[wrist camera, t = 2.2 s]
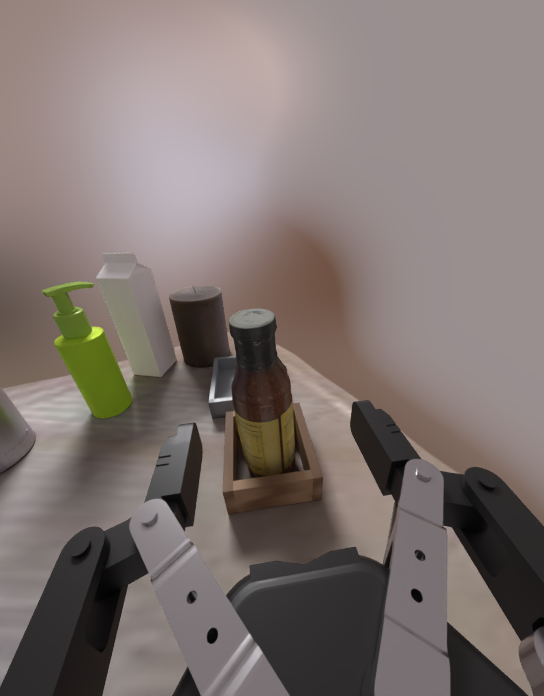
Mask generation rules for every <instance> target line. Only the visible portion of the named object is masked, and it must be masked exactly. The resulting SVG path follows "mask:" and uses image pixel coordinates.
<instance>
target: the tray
mask: <svg viewBox="0 0 544 696" xmlns="http://www.w3.org/2000/svg"><path fill="white" fill-rule="evenodd" d="M236 364H237V361H236V355H234V356H225V357H216V358H214V364H213V372H212V380H211V388H210V396H209V407H210V411H211V415H212V418H218V417H226V412H230V411H234V407H233V402H232V389H231V385H232V381H233V379H234V375H235V370H236Z"/></svg>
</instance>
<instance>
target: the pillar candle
mask: <svg viewBox="0 0 544 696" xmlns="http://www.w3.org/2000/svg"><path fill="white" fill-rule="evenodd" d="M169 299H170V304H171V308H172V312H173V316H174V321H175V325H176V329H177V333H178V337H179V341H180V346H181V350H182V353H183V357H184V361H185V362H186V363H187V364H189V365H191V366H195V367H207V366H212V365H213V364H214V358H216V357H225V356H229V353H230V350H229V343H228V336H227V328H226V322H225V315H224V307H223V301H222V293H221V289H220V288H216V287H212V286H195V287H194V286H192V287H187V288H183V289H179V290H177V291H174V292H172V293H171V294H170V295H169Z"/></svg>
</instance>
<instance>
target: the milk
mask: <svg viewBox="0 0 544 696" xmlns="http://www.w3.org/2000/svg"><path fill="white" fill-rule="evenodd" d="M103 258H104V261H105V264H104V266H103V268H102V269H101V271H100V272H99V274H98V276H97V277H96V280H97V282H98V285H99V287H100V290H101V292H102V295H103V297H104V300H105V302H106V305H107V307H108V310H109V312H110V315H111V318H112V320H113V323H114V325H115V328H116V330H117V333H118V335H119V338H120V340H121V343H122V345H123V348H124V350H125V353H126V355H127V358H128V361H129V363H130V366H131V368H132V371H133V373H134V375H143V376H154V377H162V376H163V375H164V374H165V372H166V371H167V370H168V369H169V368H170V367H171V366H172V365H173V364H174V363H175V362H176V361H177V359H176V355H175V352H174V348H173V345H172V341H171V338H170V334H169V330H168V327H167V323H166V320H165V317H164V313H163V309H162V306H161V302H160V299H159V295H158V292H157V288H156V284H155V281H154V278H153V274H152V271H151V269H150V268H148V267H146V266H144V265H141V264H139V263H137V260H136V256H135V254H134V253H103Z"/></svg>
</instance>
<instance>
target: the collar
mask: <svg viewBox="0 0 544 696" xmlns="http://www.w3.org/2000/svg"><path fill="white" fill-rule="evenodd" d="M293 421H294V433H295V437H296V441H297V445H298V448H299V452H300V456H301V460H302V464H303V468H304V471H298V472H291V473H284V474H277V475H271V476H264V477H257V478H251V479H244V480H237V437H240V435H239V431H238V426H237V421H236V416H235V412H234V411H230V412H226V420H225V445H224V471H223V496H224V499H225V503H226V507H227V511H228V514H233V513H239V512H246V511H252V510H258V509H265V508H271V507H277V506H284V505H290V504H296V503H302V502H309V501H315V500H321V493H322V481H323V476H322V473H321V470H320V467H319V463H318V460H317V457H316V454H315V451H314V448H313V445H312V441H311V438H310V435H309V432H308V429H307V426H306V423H305V419H304V416H303V413H302V410H301V407H300V404H299V403H293Z"/></svg>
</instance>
